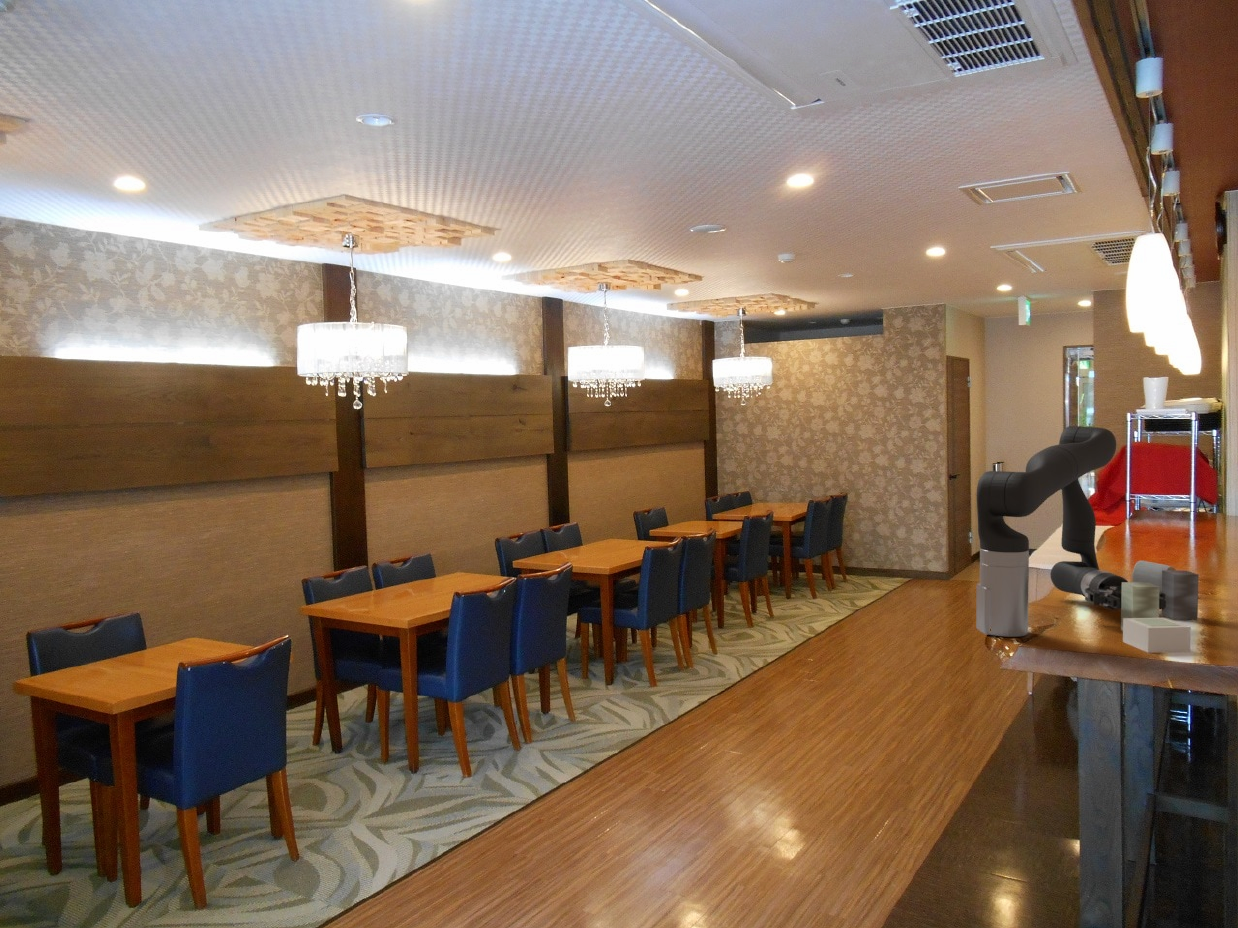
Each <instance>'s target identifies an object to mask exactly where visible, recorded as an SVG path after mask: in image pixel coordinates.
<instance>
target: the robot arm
mask: <svg viewBox="0 0 1238 928" xmlns="http://www.w3.org/2000/svg"><path fill="white" fill-rule="evenodd" d="M1116 449H1117V439H1116V436H1115V434H1114V433H1113V432H1112V431H1111V430H1109V429H1107V428H1103V427H1097V426H1096V427H1095V426H1093V427H1092V426H1082V425H1081V426H1078V425H1070V426H1067V427H1065V428H1064V429H1063V431H1062V432H1061V435H1060V437H1059V442H1058V444H1055V445H1050V446H1048V447H1046V448H1043V449H1042V450H1040V451H1038V452H1036V453H1035V454H1033V455H1032V456H1031V457H1030V459H1029V460H1028V461H1027V462H1026V466H1025V471H1000V470H989V471H984V472H983V473H982V474H981V476H980V477H979V479H978V481H977V487H976V512H977V513H976V514H977V515H976V517H977V535H978V538H979V582H978V583H976V602H975V603H976V604H975V605H976V613H975V614H976V616H975V617H976V618H975V620H976V623H975V625H976V626H975V627H976V629H977V630H978V631H979V632H981V634H984V635H985V636H987V635H990V636H997V637H1007V638H1009V637H1011V638H1012V637H1013V638H1014V637H1024V636H1028V634H1029V579H1030V578H1029V572H1030V570H1029V569H1030V568H1029V565H1030V562H1029V561H1030V559H1029V558H1030V554H1029V552H1030V550H1029V549H1030V542H1029V538H1028V536H1027V535H1025V534H1023V533H1022V532H1019V531H1017V530H1015V529H1013V528H1012V527H1010V525H1008V524H1007V523H1006V521H1005V520H1004V517H1008V518H1009V517H1010V518H1024V517H1028V516H1030V515H1031V514H1032V513H1034V512H1035V511H1036V510H1038V508H1039V507H1041V505H1043V504H1044V502H1045V501H1046V500H1048V499H1049V498H1050V497H1052V496H1053V495H1054V494H1056V493H1058V492H1059V491H1061V496H1062V497H1061V498H1062V514H1063V515H1062V526H1061V527H1062V529H1061V530H1062V531H1061V541H1060V542H1061V548H1062V549H1063V550H1065V551H1066V552H1068V553H1072V554H1077V555H1079V556H1080V558H1081V561H1068V560H1064V561H1063V560H1062V561H1058V562H1057V563H1055V564H1054V565H1053V566H1052V568H1051V570H1050V575H1049V576H1050V581H1051V582H1052V584H1053V586H1054V587H1055V588H1056V589H1058V590H1059V591H1061V592H1065V593H1069V594H1075V595H1079V596H1083V597H1084V600H1085V601H1086V602H1088V603H1090V604H1092V605H1094V606H1100V607H1104V608H1105V609H1108V610H1110V611H1113V610H1115V611H1117V610H1121V596H1122V582H1129V581H1128V580H1127V579H1126V578H1124V577H1122V576H1120V575H1117V574H1115V573H1112V572H1110V571H1107V570H1101V569H1100V567H1099V564H1098V559H1097V555H1096V547H1095V546H1096V545H1095V538H1096V527H1097V526H1096V525H1097V521H1096V515H1095V512H1094V508H1093V506H1092V505H1091V503H1090V501H1089V499H1088V498H1087V496H1086V493H1085V492H1084V489H1083V488H1082V486H1081V483H1080V480H1079V478H1081V477H1083V476H1084V475H1086V474H1088V473H1090V472H1092V471H1096V470H1098V469H1101V468H1103V467H1106V465H1108V464H1109V463H1110V462H1111V461H1112V459H1113V458H1114V456H1115V454H1116ZM1165 596H1166V594H1164V593H1162V592H1159V610H1162V609H1164V608H1165V607H1166V600H1165ZM992 625H993V626H992ZM991 627H992V628H991ZM990 629H991V631H990Z"/></svg>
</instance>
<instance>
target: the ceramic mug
mask: <svg viewBox="0 0 1238 928" xmlns="http://www.w3.org/2000/svg"><path fill="white" fill-rule="evenodd" d="M1162 570H1176V569H1175V567H1173V566H1171V565H1167V564H1163V563H1157V562H1151V561H1148V560H1147V561H1146V560H1141V559H1140V560H1138V561H1136V563H1135V565H1134V567H1133V570H1132V575H1131V576H1132V577H1131V579H1132V580H1131V582H1147V583H1150V584H1153V585H1155V586H1158V587H1159V592H1162Z"/></svg>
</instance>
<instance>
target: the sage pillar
mask: <svg viewBox="0 0 1238 928" xmlns="http://www.w3.org/2000/svg"><path fill="white" fill-rule="evenodd" d="M1120 612H1121V613H1120V614H1121V615H1120V631H1122V632H1123V618H1160V609H1159V587H1158V586H1155V585H1153V584H1150V583H1147V582H1132V581H1131V582H1129V581H1128V582H1122V596H1121V609H1120Z"/></svg>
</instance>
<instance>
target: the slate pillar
mask: <svg viewBox="0 0 1238 928" xmlns="http://www.w3.org/2000/svg"><path fill="white" fill-rule="evenodd" d="M1162 593H1164V594H1166V596H1165V600H1166V607H1165V608H1164V609H1161V614H1160V615H1161V616H1163V617H1164V618H1166V619H1169V620H1172V621H1198V620H1199V619H1198V616H1199V615H1198V614H1199V573H1195V572H1193V571H1190V570H1177V569H1175V570H1162Z"/></svg>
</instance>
